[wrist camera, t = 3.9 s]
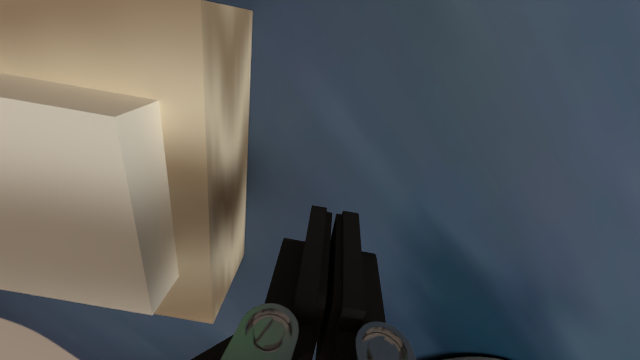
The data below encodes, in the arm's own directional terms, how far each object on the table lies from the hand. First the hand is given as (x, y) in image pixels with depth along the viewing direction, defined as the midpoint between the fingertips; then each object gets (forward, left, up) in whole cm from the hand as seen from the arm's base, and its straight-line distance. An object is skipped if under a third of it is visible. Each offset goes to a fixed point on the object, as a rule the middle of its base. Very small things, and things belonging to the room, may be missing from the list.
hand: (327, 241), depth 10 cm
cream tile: (0, +10, -1) cm, 10 cm away
